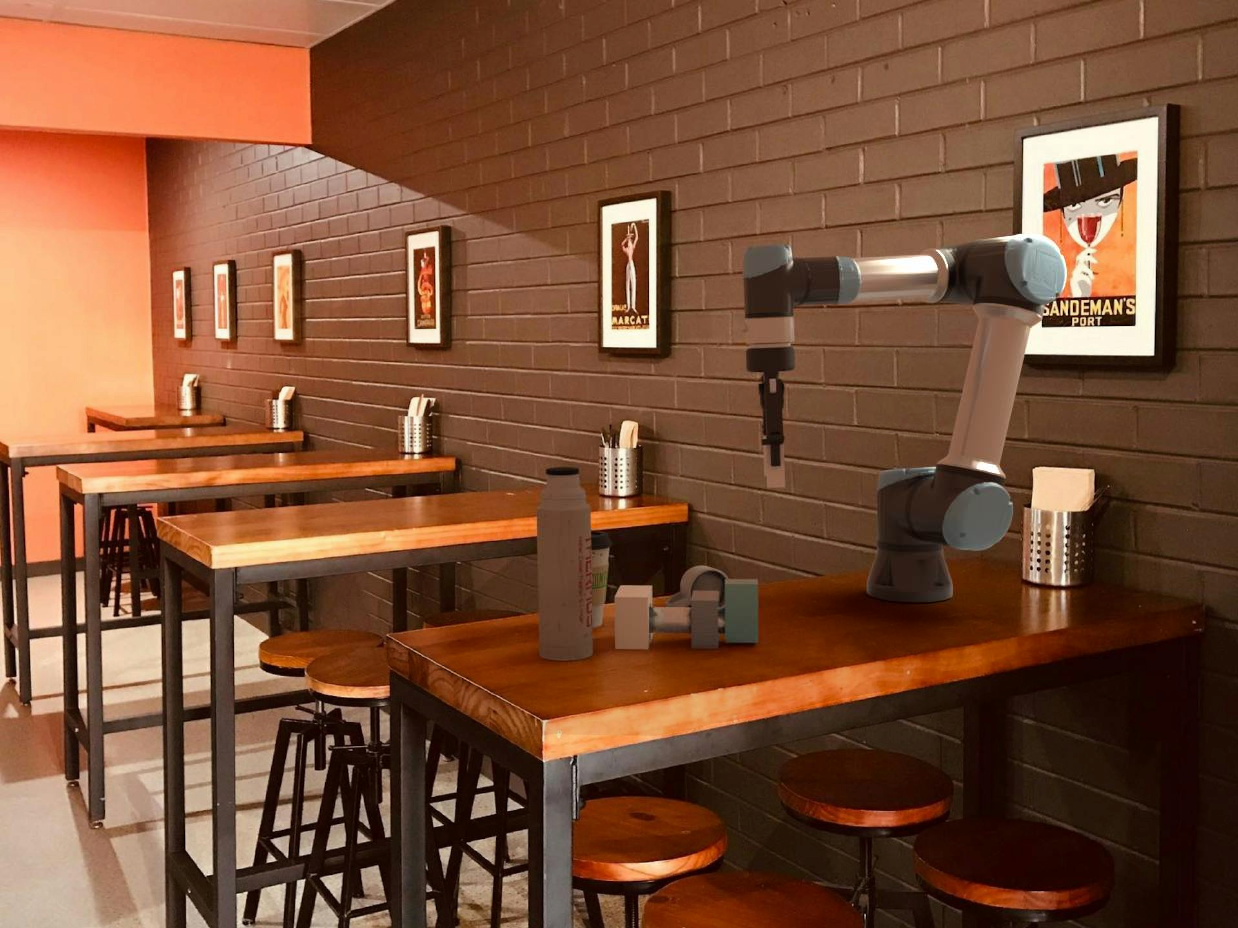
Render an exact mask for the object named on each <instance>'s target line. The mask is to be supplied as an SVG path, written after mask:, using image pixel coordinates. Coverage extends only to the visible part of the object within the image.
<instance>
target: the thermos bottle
mask: <svg viewBox="0 0 1238 928" xmlns="http://www.w3.org/2000/svg"><path fill="white" fill-rule="evenodd" d="M545 474H546V475H547V477H546V487H545V488H544V489H542V490H541V491H540V495H539V497H540V501H541V502H540V504H539V505H537V506H536V542H537V543H536V544H537V545H536V548H537V549H536V550H537V552H536V553H537V589H538V593H537V595H538V637H539V638H538V640H539V641H538V643H539V645H538V646H539V647H538V648H539V652H538V653H539V656H540V658H542V659H546V660H551V661H558V662H567V661H570V662H571V661H579V660H583V659H587V658H590V657H592V656H593V654H594V650H593V649H594V644H593V643H594V641H593V639H594V637H593V634H594V633H593V629H594V628H593V626H592V563H591V530H592V517H591V516H592V513H591V512H592V509H591V508H592V507H591V505H590V504H588V503H587V501H586V500H587V497H588V496H587V495H586V490H585V489H584V488H583V487H581V484H580V479H581V478H580V477H579V474H580V469H579V467H574V466H573V467H570V466H557V467H549V468H545Z"/></svg>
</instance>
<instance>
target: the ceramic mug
mask: <svg viewBox="0 0 1238 928" xmlns="http://www.w3.org/2000/svg"><path fill="white" fill-rule="evenodd" d="M725 579H729V577H728V576H727V575H726V574H725V572H723V571H722V570H719V569H718V568H715V567H710V566H707V565H696V566H693V567H691V568H689V569H688V570H686V571H685V572H684V573H683V574H682V577H681V579H680V580H681V581H680V585H679V586H680V591H679V592H676V593H675V594H673V595H672V596H670V597H669V598H668V599H666V600H665V602H664V605H665V607H689V606H691V599H692V594H693V591H719V608H725Z"/></svg>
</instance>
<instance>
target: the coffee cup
mask: <svg viewBox="0 0 1238 928" xmlns="http://www.w3.org/2000/svg"><path fill="white" fill-rule="evenodd" d="M612 546H613V543H612V540H610V537H609V533H608V532H606V531H603V530H594V529H593V530H592V529H591V563H592V626H593V629H594V628H598V627H601V626H602V625H603V616H604V608H605V606H604V605H605V603H606V596H607V586H608V575H609V568H610V562H609V554H610V548H611V547H612Z"/></svg>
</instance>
